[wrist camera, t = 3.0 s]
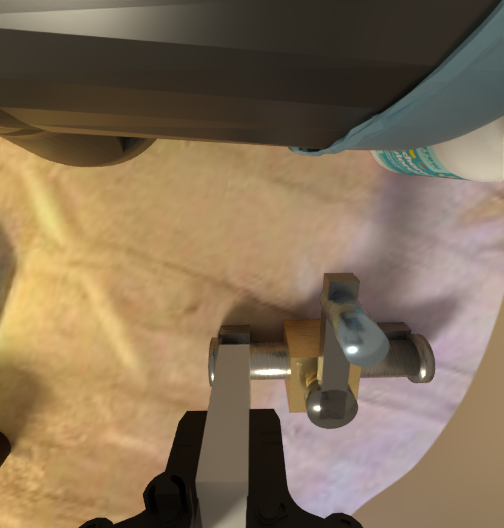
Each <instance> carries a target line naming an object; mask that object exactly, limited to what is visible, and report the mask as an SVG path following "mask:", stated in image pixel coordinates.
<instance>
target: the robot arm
mask: <svg viewBox="0 0 504 528" xmlns="http://www.w3.org/2000/svg"><path fill="white" fill-rule="evenodd" d="M503 116H504V0H0V137H2V138H4V139H6V140H8V141H10V142H12V143H14V144H16V145H18V146H20V147H22V148H24V149H26V150H28V151H30V152H32V153H34V154H36V155H38V156H40V157H42V158H45V159H47V160H50V161H53V162H56V163H60V164H64V165H69V166H76V167H103V166H111V165H116V164H120V163H123V162H126V161H128V160H130V159H132V158H134V157H136V156H138V155H139V154H141V153H142V152H143V151H145V150H146V149H147V148H148V147H149V146H151V145H152V144H153V142H154V141H155V140H156V139H172V140H188V141H204V142H220V143H236V144H252V145H269V146H285V147H288V148H289V149H290V150H291V151H292V152H294V153H297V154H300V155H306V156H321V155H322V154H335V153H338V152H341V151H344V150H377V151H401V150H413V149H419V148H422V147H428V146H432V145H435V144H439V143H443V142H447V141H450V140H453V139H455V138H458V137H461V136H463V135H466V134H468V133H470V132H472V131H475V130H477V129H479V128H481V127H483V126H485V125H487V124H489V123H491V122H493V121H495V120H497V119H499V118H501V117H503ZM143 498H144V503H145V507H146V509H145V510H144V511H143V512H142V513H140V514H138V515H136V516H134V517H132V518H129V519H126V520H124V521H121V522H119V523H116V524H113V523H112V522H111V521H110V520H108V519H107V518H95V519H92V520H89V521H87V522H85V523H84V524H83V525H81V526H80V527H79V528H363V527H362V525H361V524H360V523H359V522H358V521H356V520H355V519H354V518H353V517H352V516H349V515H347V514H344V513H332V514H331V515H329V516H328V517H326V518H325V519H324V518H321V517H319V516H316V515H313V514H311V513H308V512H306V511H304V510H303V509H301V508H300V507H299V506H298V505H297V504H296V503H295V502H294V500H293V499H292V497H291V495H290V493H289V491H288V486H287V479H286V470H285V461H284V452H283V444H282V434H281V425H280V419H279V417H278V415H277V414H276V412H275V410H274V409H251V385H250V349H249V344H239V345H219V350H218V356H217V362H216V367H215V373H214V379H213V384H212V390H211V396H210V401H209V407H208V411H187V412H186V413H185V414H184V416H183V417H182V419H181V420H180V421H179V423H178V427H177V431H176V434H175V438H174V441H173V445H172V448H171V452H170V456H169V459H168V463H167V466H166V470H165V472H163V473H161V474H159V475H158V476H156V477H154V479H153V480H152V481H151V482H150V483H149V484H148V485H147V487H146V489H145V491H144V493H143Z"/></svg>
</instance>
